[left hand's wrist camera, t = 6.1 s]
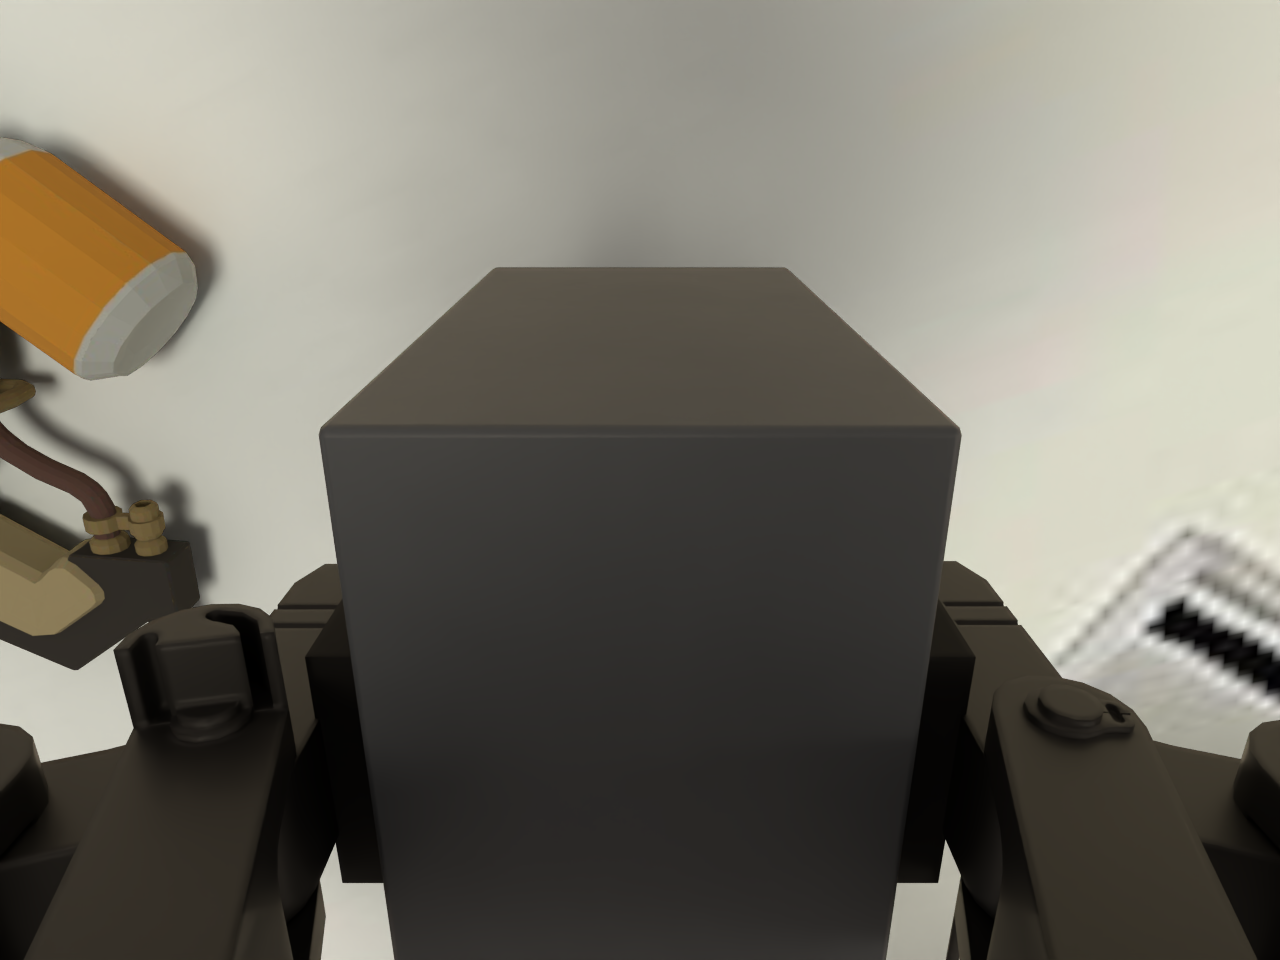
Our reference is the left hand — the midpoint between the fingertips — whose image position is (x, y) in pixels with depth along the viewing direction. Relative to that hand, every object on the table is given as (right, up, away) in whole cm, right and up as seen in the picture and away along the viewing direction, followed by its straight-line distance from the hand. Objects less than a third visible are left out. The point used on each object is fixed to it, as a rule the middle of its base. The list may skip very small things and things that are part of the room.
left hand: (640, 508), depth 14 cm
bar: (0, -6, +3) cm, 7 cm away
